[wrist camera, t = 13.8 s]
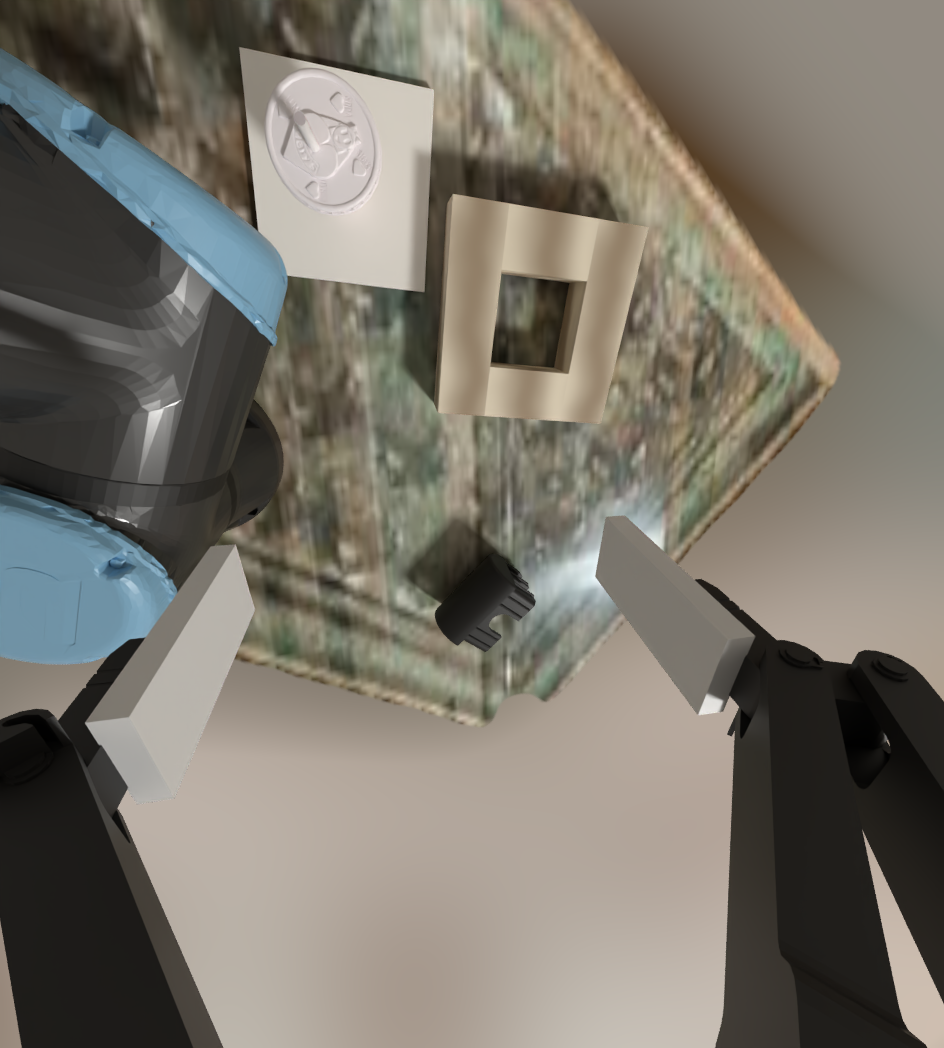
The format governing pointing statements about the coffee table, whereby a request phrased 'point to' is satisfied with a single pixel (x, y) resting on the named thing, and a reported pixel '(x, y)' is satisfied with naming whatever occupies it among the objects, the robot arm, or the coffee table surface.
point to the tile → (384, 220)
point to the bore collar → (544, 253)
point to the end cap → (484, 603)
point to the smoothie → (323, 141)
